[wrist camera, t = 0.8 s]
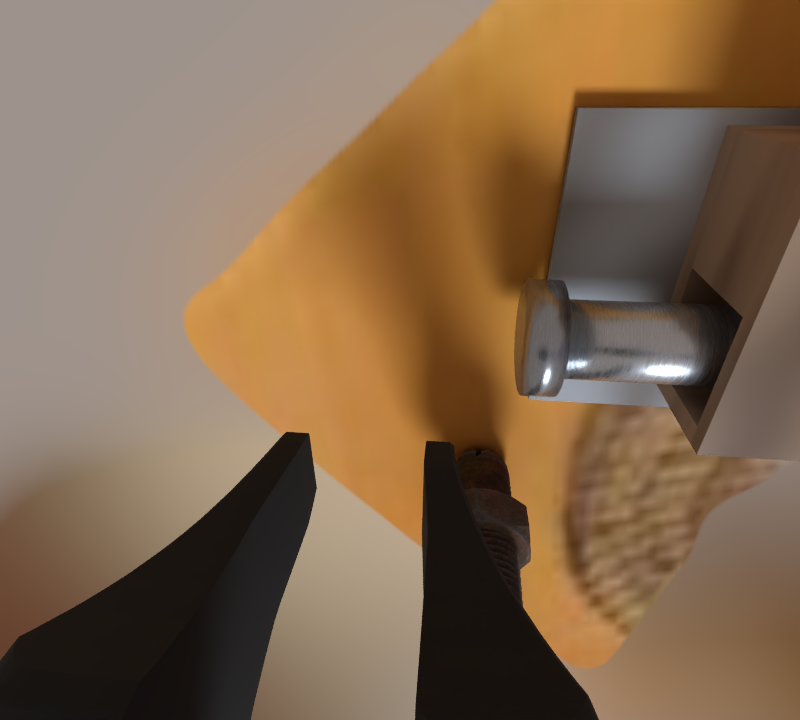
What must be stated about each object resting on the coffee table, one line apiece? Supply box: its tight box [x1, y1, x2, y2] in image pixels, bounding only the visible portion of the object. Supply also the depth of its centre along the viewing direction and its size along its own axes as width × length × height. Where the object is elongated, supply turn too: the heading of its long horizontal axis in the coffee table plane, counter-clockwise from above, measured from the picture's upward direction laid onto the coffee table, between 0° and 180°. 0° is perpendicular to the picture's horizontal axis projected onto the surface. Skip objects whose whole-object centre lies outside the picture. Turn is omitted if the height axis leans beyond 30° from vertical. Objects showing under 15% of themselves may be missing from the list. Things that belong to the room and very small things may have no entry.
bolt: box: [456, 449, 531, 607], centre depth 21 cm, size 6×5×15 cm
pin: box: [514, 279, 743, 397], centre depth 18 cm, size 10×4×4 cm, turn 91°
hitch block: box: [528, 107, 800, 461], centre depth 18 cm, size 12×12×6 cm
